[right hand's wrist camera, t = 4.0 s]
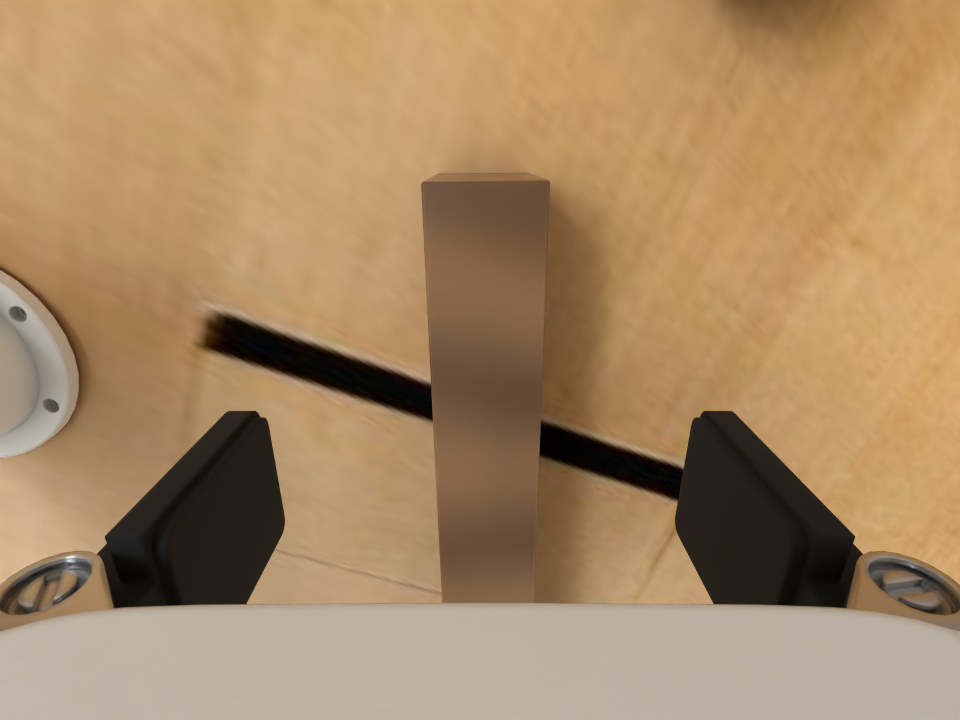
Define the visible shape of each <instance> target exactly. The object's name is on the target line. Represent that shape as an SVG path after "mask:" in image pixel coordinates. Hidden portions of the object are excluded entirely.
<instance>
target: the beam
mask: <svg viewBox="0 0 960 720" xmlns="http://www.w3.org/2000/svg"><path fill="white" fill-rule="evenodd" d="M549 189H550V183H549V181H547V180H545V179H542V178H539V177H537V176H534V175H531V174H529V173H470V174H437V175H435V176H433V177H431V178H429V179H428V180H426V181H424V182H422V184H421V191H422V210H423V230H424V250H425V270H426V290H427V310H428V329H429V349H430V369H431V389H432V409H433V428H434V448H435V468H436V488H437V508H438V528H439V547H440V567H441V587H442V603H534V584H535V558H536V531H537V505H538V479H539V452H540V426H541V400H542V373H543V347H544V321H545V294H546V268H547V242H548V215H549Z"/></svg>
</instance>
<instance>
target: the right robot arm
mask: <svg viewBox="0 0 960 720" xmlns="http://www.w3.org/2000/svg"><path fill="white" fill-rule="evenodd" d="M78 394H79V373H78V369H77V364H76V360H75V356H74V353H73V351H72V349H71V346H70V344H69V342H68V339H67V337H66V335H65V333H64V332H63V330H62V329H61V327H60V326H59V324H58V323H57V321H56V319H55V318H54V316H53V315H52V314H51V313H50V312H49V311H48V310H47V308H46V307H45V306H44V305H43V304H42V303H41V302H40V300H39V299H38V298H37V297H36V296H34V295H33V294H32V293H31V292H30V291H29V290H27V289H26V288H25V287H24V286H23V285H22V284H20V283H19V282H18V281H17V280H15V279H14V278H12V277H11V276H9V275H7V274H6V273H4V272H3V271H1V270H0V458H7V457H11V456H15V455H19V454H23V453H26V452H28V451H30V450H32V449H34V448H36V447H38V446H40V445H42V444H43V443H45V442H46V441H47V440H49V439H50V438H52V437H53V436H55V435H56V434H57V433H58V432H59V431H60V430H61V429H62V428H63V427H64V426H65V425H66V424H67V423H68V421H69V419H70V417H71V415H72V413H73V411H74V410H75V407H76V402H77V398H78ZM284 525H285V516H284V510H283V505H282V499H281V493H280V488H279V482H278V476H277V470H276V465H275V459H274V453H273V448H272V442H271V436H270V430H269V425H268V421H267V419H266V418H260V416H259V414H258V413H257V412H256V411H228V412H226V413H225V414H224V415H223V416H222V417H221V418H220V419H219V420H218V421H217V422H216V423H215V424H214V425H213V426H212V427H211V428H210V429H209V430H208V432H207V433H206V434H205V435H204V436H203V437H202V438H201V439H200V440H199V441H198V442H197V443H196V444H195V445H194V446H193V447H192V448H191V449H190V450H189V451H188V452H187V453H186V454H185V455H184V456H183V457H182V458H181V459H180V460H179V461H178V462H177V463H176V464H175V465H174V466H173V467H172V468H171V469H170V470H169V471H168V472H167V473H166V474H165V475H164V476H163V478H162V479H161V480H160V481H159V482H158V483H157V484H156V485H155V486H154V487H153V488H152V489H151V490H150V491H149V492H148V493H147V494H146V495H145V496H144V497H143V498H142V499H141V500H140V501H139V502H138V503H137V504H136V505H135V506H134V507H133V508H132V509H131V510H130V511H129V512H128V513H127V514H126V515H125V516H124V517H123V518H122V519H121V520H120V521H119V523H118V524H117V525H116V526H115V527H114V528H113V529H112V530H111V531H110V532H109V533H108V534H107V535H106V536H105V539H106V541H107V544H106V545H105V546H104V547H103V548H102V549H101V550H100V551H99V553H98V554H94V553H92V552H86V551H74V552H67V553H61V554H58V555H55V556H51V557H48V558H45V559H42V560H40V561H38V562H36V563H33V564H31V565H29V566H27V567H25V568H24V569H22V570H20V571H19V572H17V573H15V574H14V575H12V576H11V577H9V578H8V579H7V580H6V581H4V582H3V583H2V584H1V585H0V720H960V585H959V584H958V583H957V582H956V581H954V580H953V579H952V578H951V577H949V576H948V575H946V574H945V573H943V572H941V571H940V570H938V569H936V568H935V567H933V566H931V565H929V564H927V563H924V562H922V561H920V560H918V559H915V558H912V557H909V556H905V555H902V554H899V553H893V552H886V551H874V552H868V553H866V554H862V553H861V551H860V550H859V549H858V548H857V547H856V546H855V545H854V544H853V541H854V539H855V536H854V535H853V534H852V533H851V532H850V531H849V530H848V529H847V528H846V527H845V526H844V525H843V524H842V523H841V521H840V520H839V519H838V518H837V517H836V516H835V515H834V514H833V513H832V512H831V511H830V510H829V509H828V508H827V507H826V506H825V505H824V504H823V503H822V502H821V501H820V500H819V499H818V498H817V497H816V496H815V495H814V494H813V493H812V492H811V491H810V490H809V489H808V488H807V487H806V486H805V485H804V484H803V483H802V482H801V481H800V480H799V479H798V478H797V476H796V475H795V474H794V473H793V472H792V471H791V470H790V469H789V468H788V467H787V466H786V465H785V464H784V463H783V462H782V461H781V460H780V459H779V458H778V457H777V456H776V455H775V454H774V453H773V452H772V451H771V450H770V449H769V448H768V447H767V446H766V445H765V444H764V443H763V442H762V441H761V440H760V439H759V438H758V437H757V436H756V435H755V434H754V433H753V432H752V430H751V429H750V428H749V427H748V426H747V425H746V424H745V423H744V422H743V421H742V420H741V419H740V418H739V417H738V416H737V415H736V414H735V413H734V412H732V411H704V412H703V413H702V414H701V416H700V418H694V419H693V421H692V425H691V430H690V436H689V442H688V448H687V453H686V459H685V465H684V470H683V476H682V482H681V488H680V493H679V499H678V505H677V510H676V516H675V525H676V530H677V533H678V536H679V538H680V540H681V542H682V544H683V545H684V547H685V549H686V551H687V553H688V555H689V557H690V559H691V561H692V563H693V565H694V567H695V569H696V571H697V572H698V574H699V576H700V578H701V580H702V582H703V584H704V586H705V588H706V590H707V592H708V594H709V596H710V598H711V599H712V601H713V603H714V604H596V603H360V604H246V603H247V601H248V599H249V598H250V596H251V594H252V592H253V590H254V588H255V586H256V584H257V582H258V580H259V578H260V576H261V574H262V572H263V571H264V569H265V567H266V565H267V563H268V561H269V559H270V557H271V555H272V553H273V551H274V549H275V547H276V545H277V544H278V542H279V540H280V538H281V536H282V533H283V530H284Z"/></svg>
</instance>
